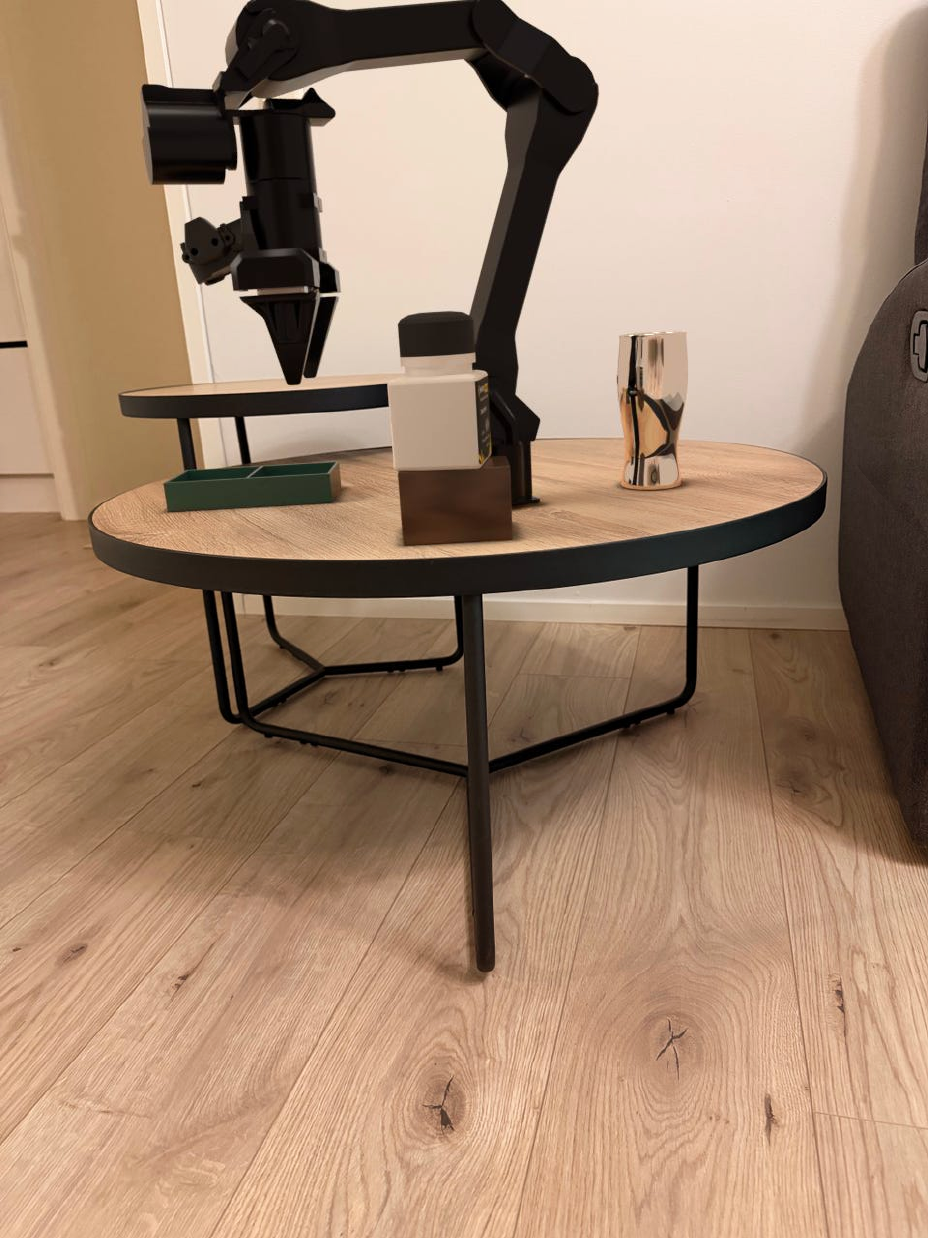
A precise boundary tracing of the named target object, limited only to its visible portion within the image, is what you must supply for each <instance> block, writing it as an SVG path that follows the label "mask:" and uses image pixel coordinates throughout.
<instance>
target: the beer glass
mask: <svg viewBox="0 0 928 1238" xmlns="http://www.w3.org/2000/svg"><path fill="white" fill-rule="evenodd" d="M688 358H689V357H688V343H687V331H685V330H684V331H683V330H681V331H680V330H677V331H676V330H675V331H673V330H672V331H654V332H653V331H652V332H634V333H624V334H623V333H622V334H619V335H618V347H617V358H616V359H617V360H616V394H617V403H618V409H619V416H620V421H621V427H622V434H623V440H624V462H623V468H622V469H623V470H622V474H621V481H620V484H621V486H622V487H623V488H625V489H631V490H637V491H639V490H640V491H641V490H642V491H657V490H666V489H674V488H677V487H679V486H681V484H682V476H681V470H680V463H679V451H678V450H679V439H680V433H681V427H682V421H683V416H684V411H685V406H686V399H687V393H688V380H689V378H688V377H689V359H688Z"/></svg>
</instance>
